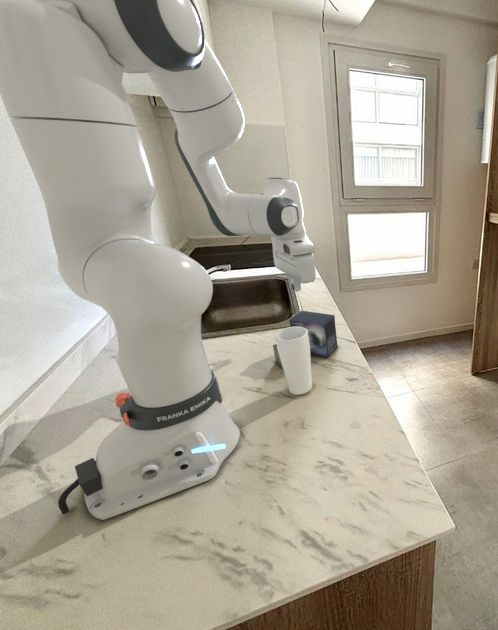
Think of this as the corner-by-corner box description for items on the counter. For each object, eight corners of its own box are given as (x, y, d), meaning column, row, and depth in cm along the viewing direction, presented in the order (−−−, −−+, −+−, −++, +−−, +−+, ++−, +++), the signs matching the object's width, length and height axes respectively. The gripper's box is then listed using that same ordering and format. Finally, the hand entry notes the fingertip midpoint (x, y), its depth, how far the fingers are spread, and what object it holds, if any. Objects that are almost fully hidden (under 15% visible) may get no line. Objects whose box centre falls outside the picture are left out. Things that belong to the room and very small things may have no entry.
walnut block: (283, 369, 85) (280, 352, 83) (275, 361, 88) (272, 345, 86) (301, 361, 88) (299, 345, 86) (293, 354, 92) (291, 338, 89)
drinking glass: (300, 377, 82) (291, 323, 76) (321, 384, 80) (314, 330, 73) (279, 392, 77) (267, 336, 70) (301, 401, 74) (291, 343, 68)
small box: (293, 353, 92) (287, 319, 88) (305, 341, 98) (301, 309, 93) (327, 358, 90) (323, 324, 85) (338, 346, 96) (335, 314, 91)
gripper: (264, 236, 95) (271, 282, 100) (293, 250, 81) (300, 302, 87) (285, 234, 99) (292, 278, 104) (317, 247, 85) (322, 297, 91)
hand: (296, 289), depth 95 cm, fingers closed
